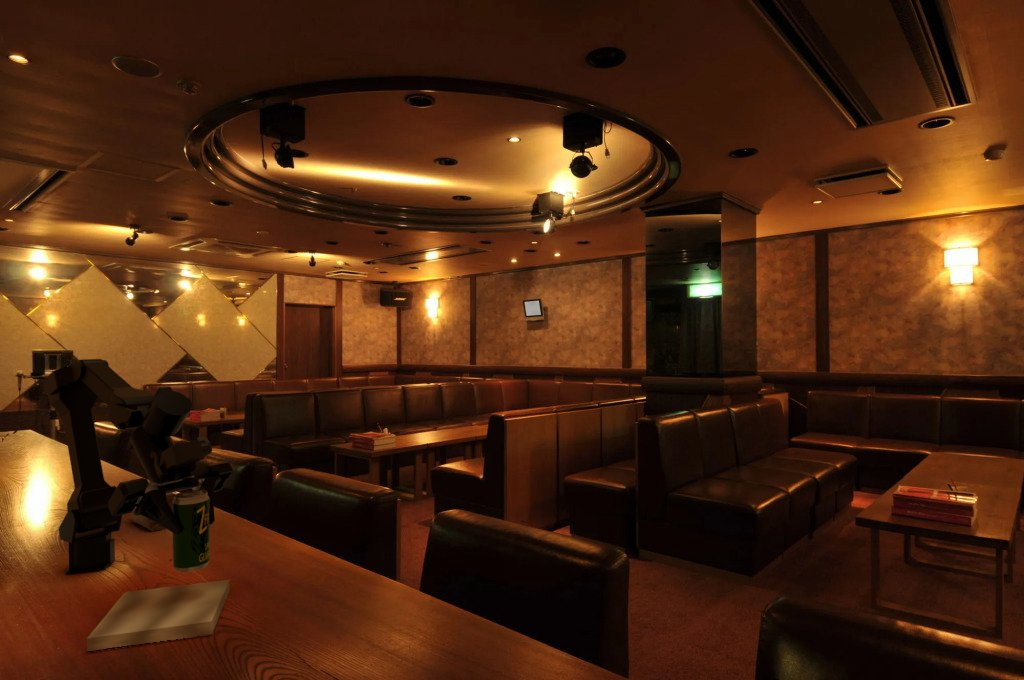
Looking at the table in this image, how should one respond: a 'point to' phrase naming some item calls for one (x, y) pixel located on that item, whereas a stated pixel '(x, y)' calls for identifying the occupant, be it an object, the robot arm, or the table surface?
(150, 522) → the food item
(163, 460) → the robot arm
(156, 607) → the serving board
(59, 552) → the table surface
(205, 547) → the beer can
